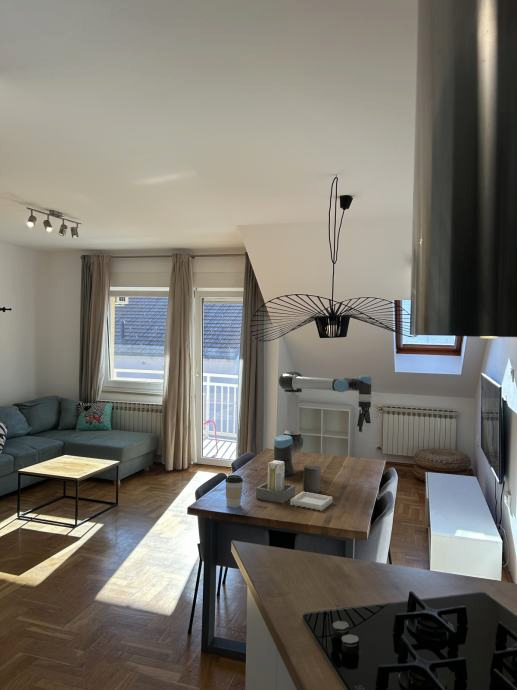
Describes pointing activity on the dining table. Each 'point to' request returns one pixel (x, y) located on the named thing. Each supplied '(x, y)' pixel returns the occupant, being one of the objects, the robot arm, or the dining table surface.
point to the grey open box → (275, 493)
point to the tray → (311, 500)
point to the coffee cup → (233, 490)
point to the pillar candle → (311, 478)
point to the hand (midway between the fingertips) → (363, 435)
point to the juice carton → (276, 475)
